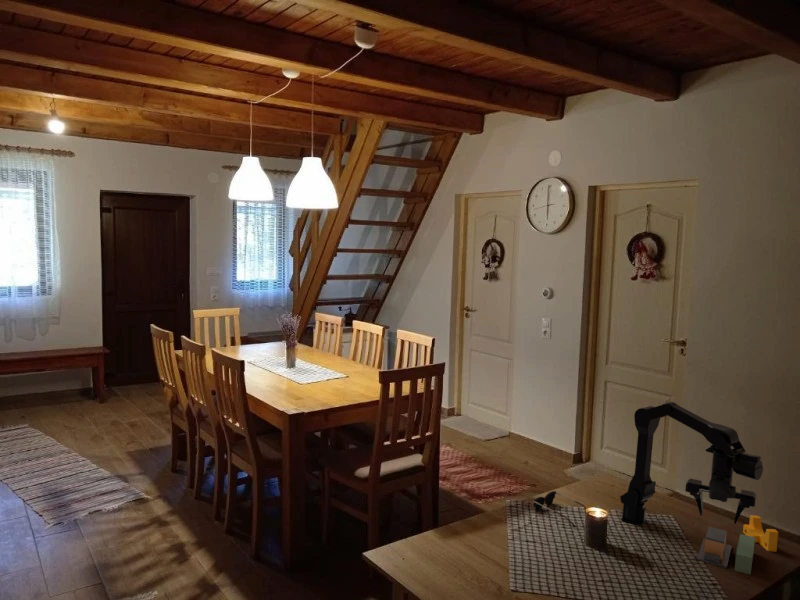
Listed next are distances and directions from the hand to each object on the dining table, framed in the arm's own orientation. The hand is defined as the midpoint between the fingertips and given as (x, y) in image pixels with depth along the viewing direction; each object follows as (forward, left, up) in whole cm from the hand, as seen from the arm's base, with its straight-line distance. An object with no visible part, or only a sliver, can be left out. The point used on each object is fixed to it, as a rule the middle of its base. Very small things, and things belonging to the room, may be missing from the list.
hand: (717, 519), depth 187 cm
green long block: (+8, 0, -11) cm, 13 cm away
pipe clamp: (+11, +18, -11) cm, 24 cm away
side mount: (0, 0, -11) cm, 11 cm away
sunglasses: (-47, -2, -12) cm, 48 cm away
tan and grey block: (0, 0, -10) cm, 10 cm away
